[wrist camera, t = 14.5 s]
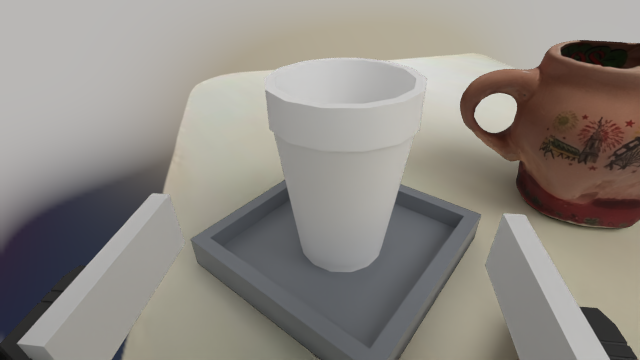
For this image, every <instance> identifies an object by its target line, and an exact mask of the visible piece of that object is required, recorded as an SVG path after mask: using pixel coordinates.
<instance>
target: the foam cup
mask: <svg viewBox="0 0 640 360" xmlns="http://www.w3.org/2000/svg"><path fill="white" fill-rule="evenodd" d="M264 81H265V92H266V101H267V110H268V119H269V129H270V130H271V131H273V132H274V135H275V140H276V144H277V148H278V152H279V156H280V160H281V164H282V168H283V172H284V177H285V181H286V185H287V189H288V193H289V197H290V201H291V205H292V209H293V214H294V218H295V222H296V226H297V230H298V234H299V238H300V242H301V247H302V248H303V253H304V255H305V256H306V257H307V258H308V259H309V260H310V261H311V262H312V263H313V264H314V265H316V266H318V267H321V268H323V269H326V270H328V271H330V272H353V271H356V270H359V269H362V268H365V267H368V266H369V265H370V264H371V263H372V262H373V261H374V260H375V259H376V258H377V257H378V256H379V252H380V250H381V247H382V244H383V240H384V237H385V234H386V230H387V227H388V223H389V220H390V217H391V213H392V210H393V207H394V203H395V200H396V196H397V193H398V190H399V186H400V183H401V179H402V176H403V173H404V169H405V166H406V162H407V159H408V156H409V152H410V149H411V145H412V142H413V139H414V135H415V133H417V132H418V131H419V130H420V124H421V117H422V111H423V105H424V98H425V92H426V83H427V78H426V77H425V76H423V75H422V74H420V73H419V72H418V71H416V70H415V69H413V68H410V67H407V66H403V65H400V64H397V63H393V62H390V61H381V60H373V59H365V58H325V59H318V60H310V61H302V62H298V63H295V64H291V65H288V66H284V67H281V68H278V69H276V70H275V71H273V72H272V73H271V74H269V75H268V76H267V77H265V78H264Z"/></svg>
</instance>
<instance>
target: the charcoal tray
mask: <svg viewBox="0 0 640 360" xmlns="http://www.w3.org/2000/svg"><path fill="white" fill-rule="evenodd" d="M480 217H481V214H478V213H476V212H473V211H470V210H468V209H465V208H463V207H460V206H457V205H455V204H452V203H449V202H447V201H444V200H441V199H439V198H436V197H433V196H431V195H428V194H425V193H423V192H420V191H417V190H415V189H412V188H410V187H407V186H404V185H402V184H400V186H399V190H398V193H397V196H396V200H395V203H394V207H393V210H392V213H391V217H390V220H389V223H388V227H387V230H386V234H385V237H384V240H383V244H382V247H381V250H380V252H379V256H378V257H377V258H376V259H375V260H374V261H373V262H372V263H371V264H370V265H369V266H368V267H365V268H362V269H359V270H356V271H353V272H330V271H328V270H326V269H323V268H321V267H318V266H316V265H314V264H313V263H312V262H311V261H310V260H309V259H308V258H307V257H306V256H305V255H304V253H303V248H302V247H301V242H300V238H299V234H298V230H297V226H296V222H295V218H294V214H293V209H292V205H291V201H290V197H289V193H288V189H287V185H286V181H285V180H284V181H282V182H281V183H279V184H277V185H276V186H274V187H273V188H271V189H270V190H268V191H266V192H265V193H263V194H262V195H260V196H258V197H257V198H255V199H254V200H252V201H251V202H249V203H247V204H246V205H244V206H243V207H241V208H239V209H238V210H236V211H235V212H233V213H232V214H230V215H228V216H227V217H225V218H224V219H222V220H220V221H219V222H217V223H216V224H214V225H212V226H211V227H209V228H208V229H206V230H205V231H203V232H201V233H200V234H198V235H197V236H195V237H193V238H192V239H191V242H192V245H193V249H194V252H195V255H196V259H197V262H198V263H199V264H200V265H201V266H202V267H204V268H205V269H206V270H208V271H209V272H210V273H211V274H213V275H214V276H215V277H216V278H218V279H219V280H220V281H222V282H223V283H224V284H225V285H227V286H228V287H229V288H230V289H232V290H233V291H234V292H236V293H237V294H238V295H239V296H241V297H242V298H243V299H245V300H246V301H247V302H248V303H250V304H251V305H252V306H253V307H255V308H256V309H257V310H259V311H260V312H261V313H262V314H264V315H265V316H266V317H267V318H269V319H270V320H271V321H273V322H274V323H275V324H276V325H278V326H279V327H280V328H281V329H283V330H284V331H285V332H287V333H288V334H289V335H290V336H292V337H293V338H294V339H295V340H297V341H298V342H299V343H301V344H302V345H303V346H304V347H306V348H307V349H308V350H309V351H311V352H312V353H313V354H315V355H316V356H317V357H318V358H320V359H321V360H398V359H399V358H400V356H401V354H402V353H403V351H404V350H405V348H406V346H407V345H408V343H409V341H410V340H411V338H412V337H413V335H414V333H415V332H416V330H417V329H418V327H419V325H420V324H421V322H422V321H423V319H424V317H425V316H426V314H427V313H428V311H429V309H430V308H431V306H432V305H433V303H434V301H435V300H436V298H437V297H438V295H439V293H440V292H441V290H442V289H443V287H444V285H445V284H446V282H447V281H448V279H449V277H450V276H451V274H452V273H453V271H454V269H455V268H456V266H457V265H458V263H459V261H460V260H461V258H462V257H463V255H464V253H465V252H466V250H467V248H468V247H469V245H470V244H471V242H472V240H473V239H474V237H475V233H476V230H477V227H478V224H479V220H480Z"/></svg>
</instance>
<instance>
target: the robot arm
mask: <svg viewBox="0 0 640 360" xmlns="http://www.w3.org/2000/svg"><path fill="white" fill-rule="evenodd" d="M184 244H185V241H184V238H183V234H182V231H181V228H180V225H179V222H178V219H177V216H176V213H175V210H174V207H173V204H172V201H171V197H170V194H153V193H152V194H151V195H150V196H149V197H148V199H147V200H146V201H145V202H144V203H143V204H142V205H141V206H140V207H139V209H138V210H137V211H136V212H135V213H134V214H133V215H132V216H131V217H130V219H129V220H128V221H127V222H126V223H125V224H124V225H123V226H122V227H121V228H120V230H119V231H118V232H117V233H116V234H115V235H114V236H113V237H112V238H111V240H110V241H109V242H108V243H107V244H106V245H105V246H104V248H102V250H101V251H100V252H99V253H98V254H97V255H96V256H95V257H94V258H93V260H92V261H91V262H90V263H89V264H88V265H87V266H78V267H77V268H75V269H74V270H72V271H71V272H69V273H68V274H66V275H65V276H63V278H62V279H61V280H60V281H59V282H58V283H57V284H56V285H55V286H54V287H53V288H52V290H51V292H48V293H47V294H46V295H45V297H44V298H43V299H42V300H41V303H38V304H37V305H36V306H35V307H34V308H33V309H32V310H31V311H30V312H29V314H28V315H27V316H26V317H25V318H24V319H23V320H22V321H21V322H20V323H19V324H18V325H17V326H16V327H15V328H14V329H13V331H12V332H11V333H10V334H9V335H8V336H7V337H6V338H5V339H4V340H3V341H2V342H1V343H0V360H111V359H112V358H113V356H114V355H115V353H116V352H117V350H118V348H119V347H120V345H121V344H122V342H123V341H124V339H125V337H126V336H127V334H128V333H129V331H130V330H131V328H132V326H133V325H134V323H135V322H136V320H137V319H138V317H139V315H140V314H141V312H142V311H143V309H144V308H145V306H146V304H147V303H148V301H149V300H150V298H151V296H152V295H153V293H154V292H155V290H156V289H157V287H158V285H159V284H160V282H161V281H162V279H163V278H164V276H165V274H166V273H167V271H168V270H169V268H170V267H171V265H172V263H173V262H174V260H175V259H176V257H177V255H178V254H179V252H180V251H181V249H182V248H183V246H184ZM485 266H486V269H487V272H488V274H489V277H490V280H491V283H492V285H493V288H494V291H495V294H496V296H497V299H498V302H499V305H500V307H501V310H502V313H503V316H504V318H505V321H506V324H507V326H508V329H509V332H510V335H511V337H512V340H513V343H514V346H515V348H516V351H517V354H518V357H519V359H520V360H637V357H636V355H635V354H634V352H633V351H632V349H631V348H630V346H627V342H626V340H625V339H624V337H623V336H622V334H621V333H620V331H619V330H618V328H617V326H616V325H615V324H614V323H613V322H612V321H611V320H610V319H609V318H608V317H606V316H605V315H604V314H603V313H602V312H601V311H600V310H599V309H598V308H589V307H579V306H578V304H577V302H576V301H575V299H574V297H573V295H572V294H571V292H570V290H569V289H568V287H567V285H566V284H565V282H564V280H563V278H562V277H561V275H560V273H559V272H558V270H557V268H556V266H555V265H554V263H553V261H552V260H551V258H550V256H549V255H548V253H547V251H546V249H545V248H544V246H543V244H542V243H541V241H540V239H539V237H538V236H537V234H536V232H535V231H534V229H533V227H532V226H531V224H530V222H529V220H528V219H527V217H526V215H523V214H505V213H503V215H502V218H501V221H500V224H499V227H498V230H497V233H496V236H495V238H494V241H493V244H492V247H491V250H490V253H489V256H488V259H487V261H486V264H485Z"/></svg>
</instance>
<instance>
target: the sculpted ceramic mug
mask: <svg viewBox="0 0 640 360" xmlns="http://www.w3.org/2000/svg"><path fill="white" fill-rule="evenodd" d="M495 93H505V94H508V95H511V96H512V97H513V98H514V99H515V100H516V103H517V112H516V115H515V118H514V122H513V123H512V124H511V126H510V127H508V128H507V129H506V130H504V131H502V132H499V133H490V132H487V131H485V130H483V129H482V128H481V127H480V126H479V125H478V123H477V122H476V120H475V118H474V112H475V108H476V107H477V105H478V104H479V103H480V101H481V100H482V99H484V98H485V97H487V96H489V95H491V94H495ZM460 111H461V115H462V118H463V121H464V123H465V125H466V126H467V127H468V128H469V129H471V130H472V131H473V132H474V133H475V135H476V136H477V137H478V138H479V139H481V140H482V141H483V142H484V143H485V144H486V145H487V146H489V147H490V148H492V149H493V150H495V151H496V152H497V153H499V154H500V155H501V156H502V157H504V158H505V159H507V160H509V161H517V160H520V163H519V168H518V175H517V179H516V185H517V188H518V190H519V192H520V193H521V195H522V197H523V198H524V200H525V201H526V202H527V203H528V204H529V205H531V206H532V207H533V208H535V209H537V210H538V211H540V212H541V213H543V214H545V215H547V216H550V217H553V218H556V219H559V220H562V221H566V222H570V223H573V224H577V225H582V226H589V227H605V228H626V227H630V226H632V225H633V224H635V223H636V222H637V221H639V220H640V43H622V42H607V41H589V40H577V41H569V42H563V43H559V44H556V45H554V46H552V47H551V48H550V49H549V50H548V51H547V52H546V54H545V56H544V58H543V60H542V62H541V64H540V65H539V66H538V67H536V68H534V69H529V70H519V69H503V70H497V71H493V72H489V73H487V74H484V75H482V76H480V77H478V78H477V79H475V80H474V81H473V82H472V83H471V84H470V85H469V86H468V87H467V89H466V90H465V92H464V93H463V95H462V98H461V101H460Z"/></svg>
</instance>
